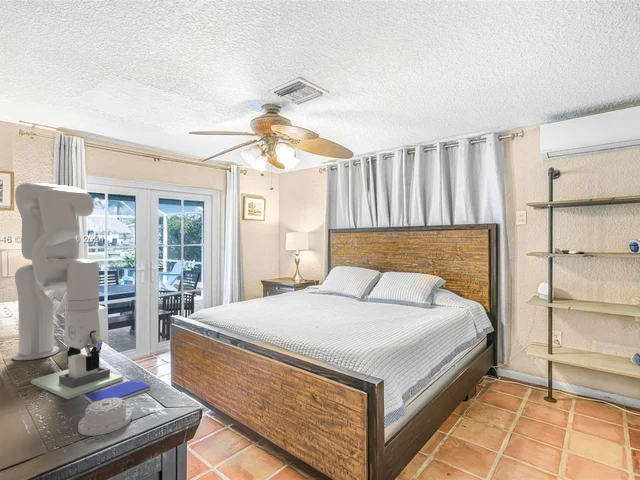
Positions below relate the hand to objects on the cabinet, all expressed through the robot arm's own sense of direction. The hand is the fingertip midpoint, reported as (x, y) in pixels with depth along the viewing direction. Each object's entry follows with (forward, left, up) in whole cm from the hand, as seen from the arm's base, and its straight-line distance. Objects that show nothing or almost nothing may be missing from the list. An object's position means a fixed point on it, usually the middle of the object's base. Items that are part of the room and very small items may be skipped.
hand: (83, 366), depth 97 cm
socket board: (-3, 0, -5) cm, 6 cm away
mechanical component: (+27, -9, -5) cm, 29 cm away
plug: (0, 0, -4) cm, 4 cm away
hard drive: (+15, +1, -6) cm, 16 cm away
